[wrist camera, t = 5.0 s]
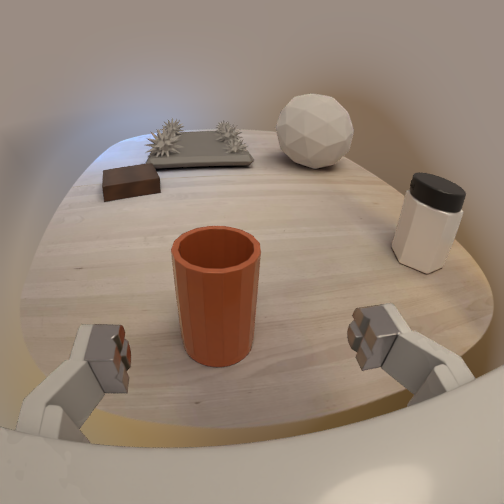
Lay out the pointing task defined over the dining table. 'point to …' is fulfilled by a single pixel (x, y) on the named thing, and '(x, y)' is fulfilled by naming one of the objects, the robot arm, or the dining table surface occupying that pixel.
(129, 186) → the stand
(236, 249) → the pot
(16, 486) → the robot arm
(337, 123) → the sphere
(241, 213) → the dining table surface
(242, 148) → the decorative tray
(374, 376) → the dining table surface
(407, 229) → the jar
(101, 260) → the dining table surface
